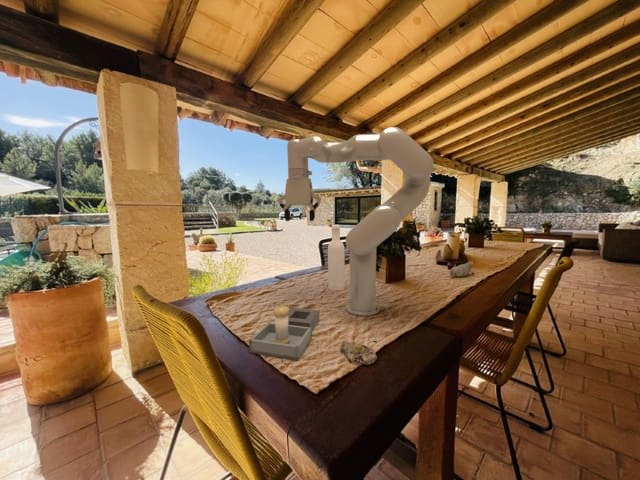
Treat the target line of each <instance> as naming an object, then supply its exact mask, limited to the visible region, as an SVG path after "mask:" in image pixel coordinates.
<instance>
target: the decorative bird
mask: <svg viewBox="0 0 640 480" xmlns="http://www.w3.org/2000/svg"><path fill="white" fill-rule="evenodd" d="M473 264H474V262H473V261H468V262H466V263H464V264H463V263H462V264H459V265H457V266H456V265H455V266H453V267H451V268H450V272H449V277H450V279H453V278H455V276H456V277H465V276H466V275H472V276H474V275H475V270H473V271H472V265H473ZM470 272H471V273H470Z"/></svg>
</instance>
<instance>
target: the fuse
mask: <svg viewBox="0 0 640 480" xmlns="http://www.w3.org/2000/svg"><path fill="white" fill-rule="evenodd" d="M289 310H290V308H289V307H288V305H287V306H286V305H278V306H274V308H273V315H274V323H275V334H276V337H275V342H276V343H283V344H289V331H288V314H289Z"/></svg>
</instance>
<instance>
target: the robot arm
mask: <svg viewBox="0 0 640 480" xmlns="http://www.w3.org/2000/svg"><path fill="white" fill-rule="evenodd" d="M286 144H287V147H286V148H287V175H288V177H287V179H286V181H285V190H284V195H282V196H280V197H279V198H277V202H278V205H279V206H280V208H281V209H282V210H283V212H284V219H285V221H286V222H289V221H291V211H290V208H291V207H292V206H308V208H309V209H310V210H309V211H308V212H309V213H308V215H309V216H308V217H309V222H314V220H315V219H316V209H317V208H318V207H319V206H320V203H321V201H322V198H321V197H320V196H319V195H316V194H314V190H313V183H312V178H310V176H312V175H313V171H312V170H309V159H311V160H315V161H316V162H318V163H323V164H324V163H325V164H327V163H328V164H330V163H335V164H336V163H347V162H355V161H389V160H390V161H391V162H392V163H393V164H394V165H396V167H397V168H399V170H401V171H402V173H403V177H404V183H403V185H402V186H401V187H400V188H399V189H398V190H397V191H396V192H395V193H394V194H393V195H392V196H391V197H390V198H388V199H387V200H386V201H384V202H383V203H382V204H380V205H378V206H376V207H375V208H374V209H373V210H372V211H370V212H369V213H368V214H367V215H366V216H365V217H364V218H363V219H361V220H360V222H358V223H357V224H356V225H354V227H352V228H351V229H350V230H349V232H348V233H347V235H346V237H345V246H346V248H347V250H348V252H349V302H347V303H346V304H345V311H347V312H348V313H350V314H352V315H355V316H360V317H361V316H362V317H364V316H365V317H366V316H373V315H377V314H379V312H380V310H381V308H383V309H388V308H389V302H386V301H385V300H381V299H380V300H379V299H378V296H377V293H376V292H377V291H376V288H377V287H376V285H377V284H376V283H377V274H376V273H377V272H376V271H377V247H378V246H380V244H382V243H383V242H384V241H386V240H387V239H388V238H389V237H390V236H391V235H392V234H394V232H396V231H397V230H398V228H399V227H400V225H401V222H402V221H403V220H405V218H407V217H408V216H409V215H410V214H411V213H412V212H413V211H414V210H416V208H418V206H420V205H421V203H423V201H424V200H426V198H427V195H428V193H429V190H430V186H431V175H432V173H433V172H434V171H433V170H434V168H435V163H434V159H433V157H432V156H431V155H430V153H429V152H428V151H426V150H425V149H424V147H422V146H421V145H420V144H419V143H417V142H416V141H415V140H414V139H413V138H412V137H411V136H410V135H409V134H407V132H406V131H404V130H403V129H401V128H400V127H397V126H389V127H387V128H384V130H382V131H381V133H364V134H362V133H361V134H355V135H353V136H352V137H350V138H349V139H347V140H344V141H340V142H338V141H337V142H327V141H325V140H324V138H322V137H320V136H319V135H318V136H317V135H315V136H314V135H313V136H309V137H306V138H301V139H297V138H296V139H290V140H289V141H288V142H287V143H286ZM314 200H315V202H314ZM283 201H284V202H285V203H284V202H283Z"/></svg>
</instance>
